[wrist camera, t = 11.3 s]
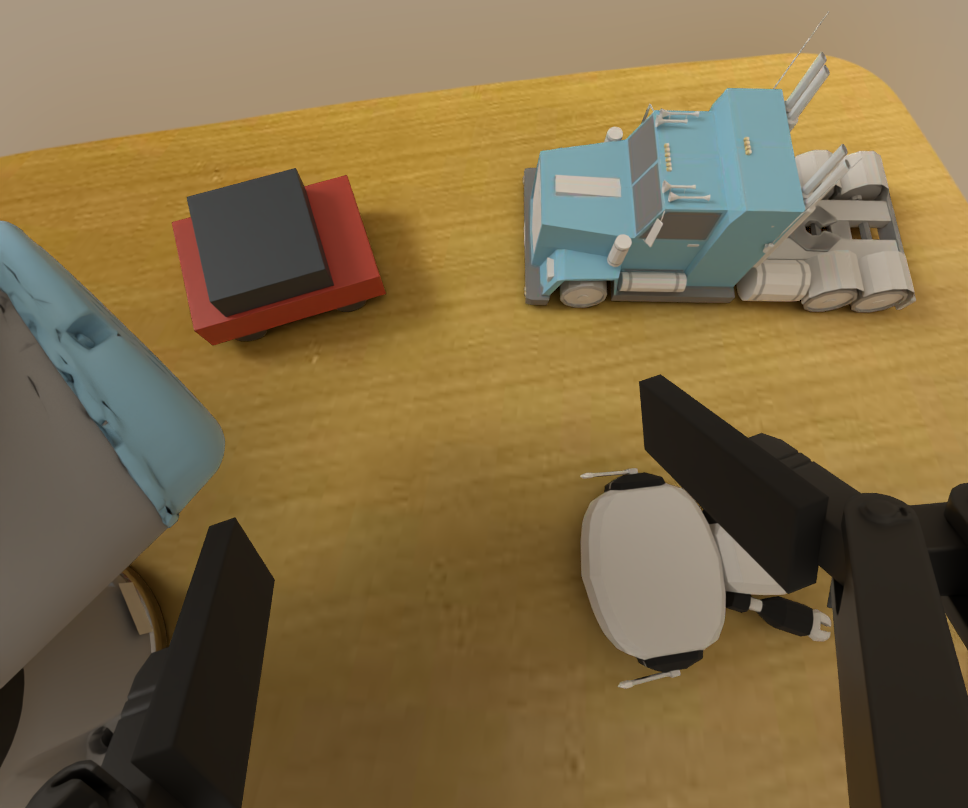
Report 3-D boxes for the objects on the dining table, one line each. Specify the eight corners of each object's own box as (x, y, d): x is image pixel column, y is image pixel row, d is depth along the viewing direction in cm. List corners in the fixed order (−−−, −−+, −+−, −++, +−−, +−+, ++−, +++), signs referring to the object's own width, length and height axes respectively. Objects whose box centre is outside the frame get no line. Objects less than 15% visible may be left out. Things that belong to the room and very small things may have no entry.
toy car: (175, 316, 32) (152, 201, 35) (220, 352, 38) (198, 251, 41) (373, 258, 34) (339, 152, 36) (388, 301, 40) (358, 207, 42)
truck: (521, 178, 43) (544, -11, 29) (861, 184, 43) (1054, 1, 29) (523, 309, 40) (550, 170, 25) (892, 315, 40) (1127, 181, 26)
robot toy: (757, 458, 37) (558, 482, 36) (799, 446, 33) (575, 472, 31) (807, 640, 34) (591, 676, 32) (862, 652, 30) (614, 695, 28)
